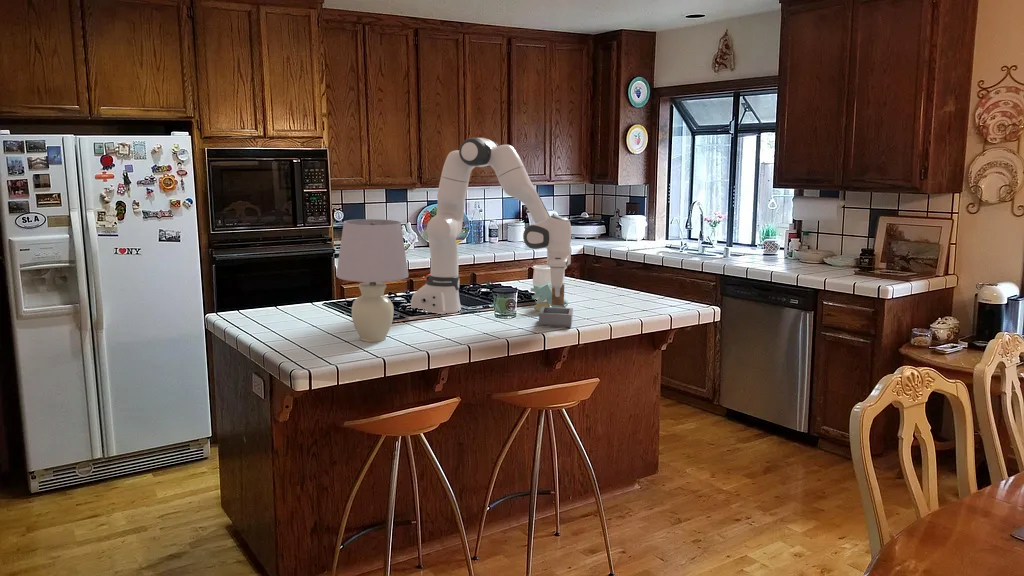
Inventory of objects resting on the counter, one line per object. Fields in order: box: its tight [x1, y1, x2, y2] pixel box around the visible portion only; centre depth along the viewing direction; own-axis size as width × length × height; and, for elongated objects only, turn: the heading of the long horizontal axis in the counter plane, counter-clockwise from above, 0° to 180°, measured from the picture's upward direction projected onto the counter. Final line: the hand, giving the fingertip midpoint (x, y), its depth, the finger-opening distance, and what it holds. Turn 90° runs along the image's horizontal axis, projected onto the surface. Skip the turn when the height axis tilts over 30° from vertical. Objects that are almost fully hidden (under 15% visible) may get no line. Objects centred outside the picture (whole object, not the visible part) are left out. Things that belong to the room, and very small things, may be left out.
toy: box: [530, 282, 570, 312], centre depth 319 cm, size 10×14×15 cm
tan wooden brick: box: [552, 283, 565, 306], centre depth 295 cm, size 4×2×8 cm, turn 83°
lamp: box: [335, 218, 409, 343], centre depth 263 cm, size 24×24×40 cm
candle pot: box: [538, 306, 574, 328], centre depth 296 cm, size 12×12×5 cm
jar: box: [532, 264, 551, 302], centre depth 338 cm, size 11×10×15 cm
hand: (557, 295), depth 295 cm, fingers closed on tan wooden brick, 2 cm apart
